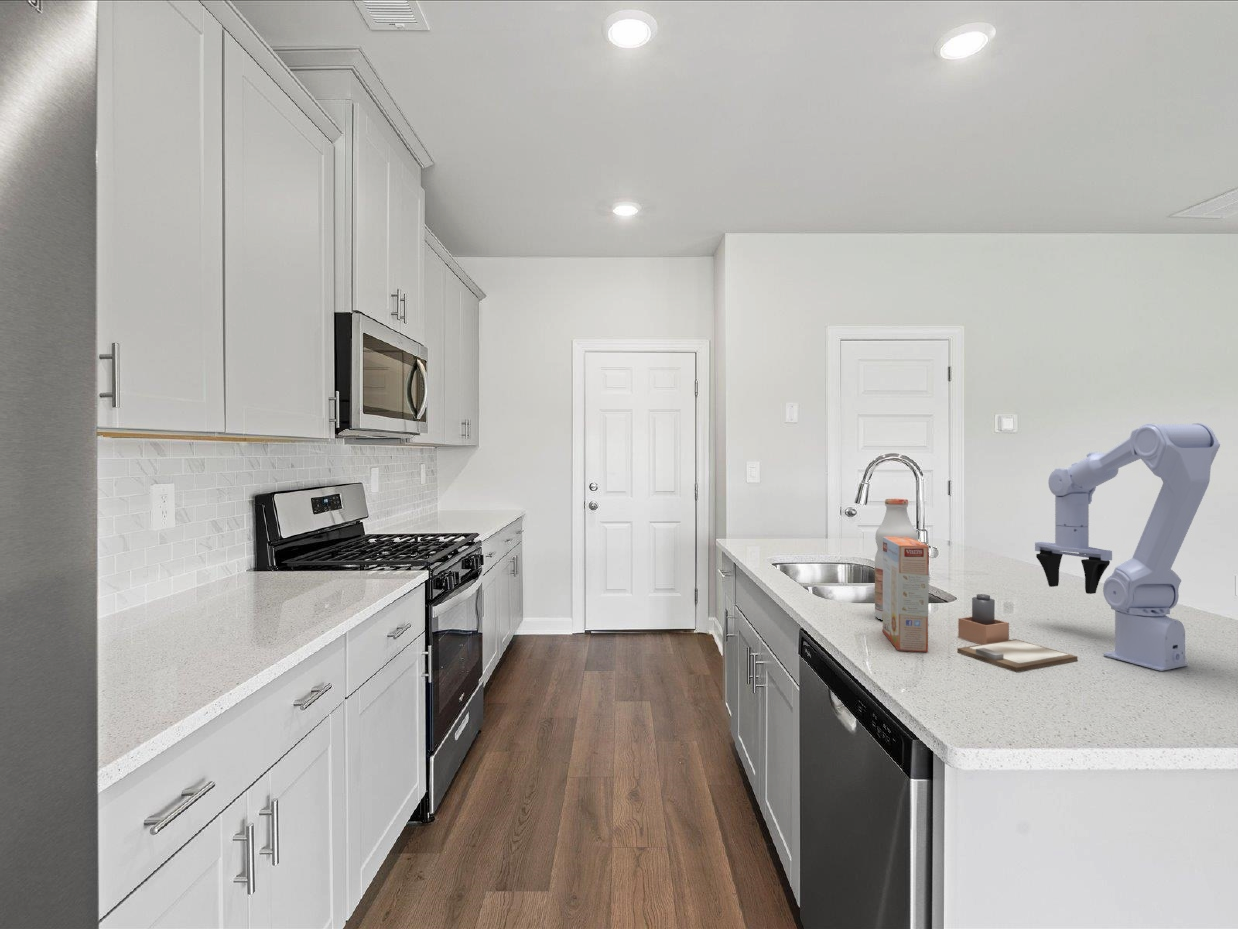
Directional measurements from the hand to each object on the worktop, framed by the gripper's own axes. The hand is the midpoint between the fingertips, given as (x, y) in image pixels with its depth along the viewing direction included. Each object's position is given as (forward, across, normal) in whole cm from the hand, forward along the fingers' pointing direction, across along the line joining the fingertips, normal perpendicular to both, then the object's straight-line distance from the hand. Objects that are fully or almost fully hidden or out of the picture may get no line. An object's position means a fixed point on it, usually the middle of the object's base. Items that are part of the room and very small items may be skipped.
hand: (1071, 589), depth 132 cm
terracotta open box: (+9, +4, +21) cm, 23 cm away
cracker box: (+10, +9, +37) cm, 39 cm away
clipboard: (+9, -6, +25) cm, 27 cm away
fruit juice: (+10, +23, +25) cm, 35 cm away
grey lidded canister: (+9, +4, +21) cm, 23 cm away
